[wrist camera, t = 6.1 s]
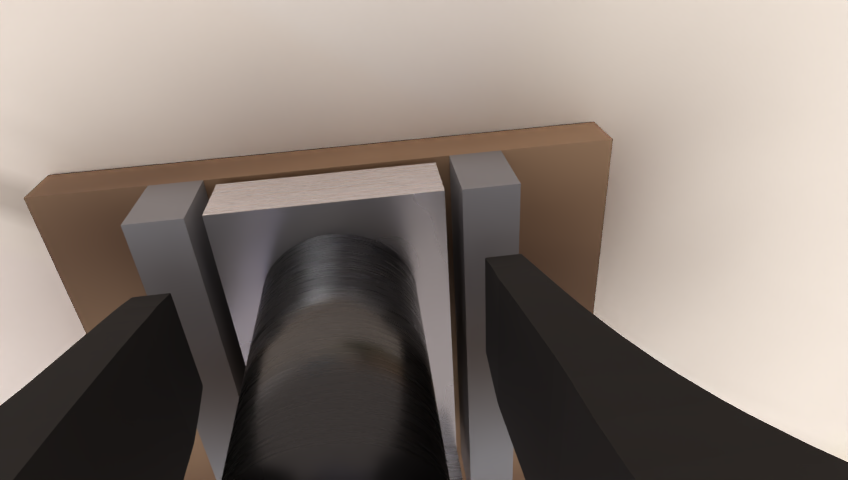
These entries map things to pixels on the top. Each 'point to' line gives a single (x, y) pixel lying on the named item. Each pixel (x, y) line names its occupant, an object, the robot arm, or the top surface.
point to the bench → (195, 181)
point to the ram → (339, 325)
